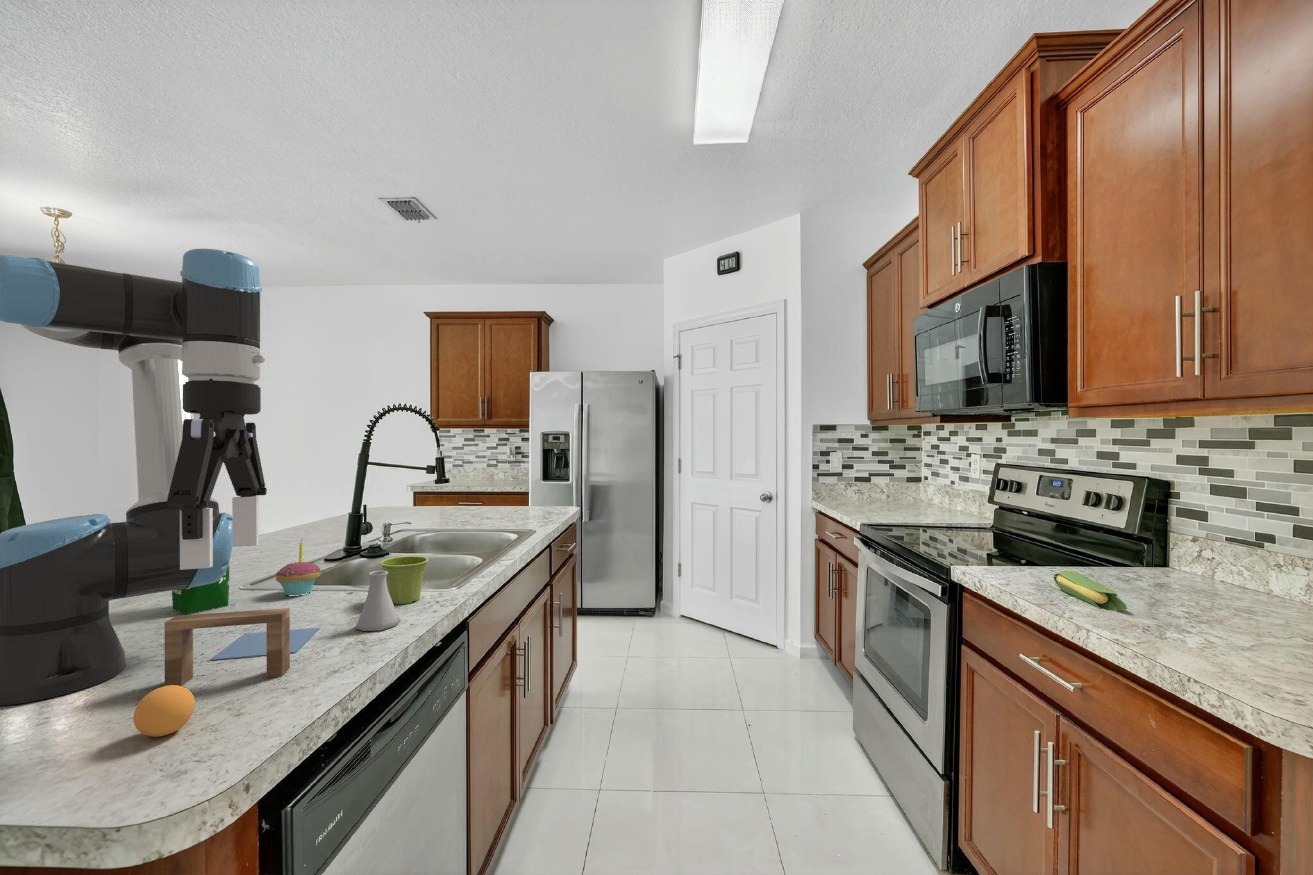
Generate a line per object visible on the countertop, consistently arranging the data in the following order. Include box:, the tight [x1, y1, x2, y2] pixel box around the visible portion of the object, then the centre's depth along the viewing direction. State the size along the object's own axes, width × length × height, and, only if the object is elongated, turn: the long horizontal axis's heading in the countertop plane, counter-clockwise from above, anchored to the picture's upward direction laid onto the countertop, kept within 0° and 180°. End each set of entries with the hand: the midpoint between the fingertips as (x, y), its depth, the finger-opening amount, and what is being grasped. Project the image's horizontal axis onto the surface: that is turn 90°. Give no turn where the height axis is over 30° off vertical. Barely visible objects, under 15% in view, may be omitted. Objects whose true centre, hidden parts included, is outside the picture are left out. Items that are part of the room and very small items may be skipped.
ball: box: [132, 685, 196, 738], centre depth 66 cm, size 6×6×6 cm
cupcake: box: [275, 538, 321, 596], centre depth 125 cm, size 9×8×12 cm
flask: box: [354, 570, 401, 632], centre depth 104 cm, size 7×7×10 cm
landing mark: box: [209, 627, 321, 662], centre depth 95 cm, size 12×12×1 cm
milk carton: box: [171, 564, 230, 615], centre depth 116 cm, size 9×9×20 cm
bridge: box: [164, 607, 291, 687], centre depth 82 cm, size 3×14×9 cm, turn 105°
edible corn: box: [1053, 570, 1129, 613], centre depth 120 cm, size 5×20×5 cm
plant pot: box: [380, 555, 429, 605], centre depth 120 cm, size 9×9×9 cm
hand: (223, 556), depth 68 cm, fingers open, 13 cm apart
